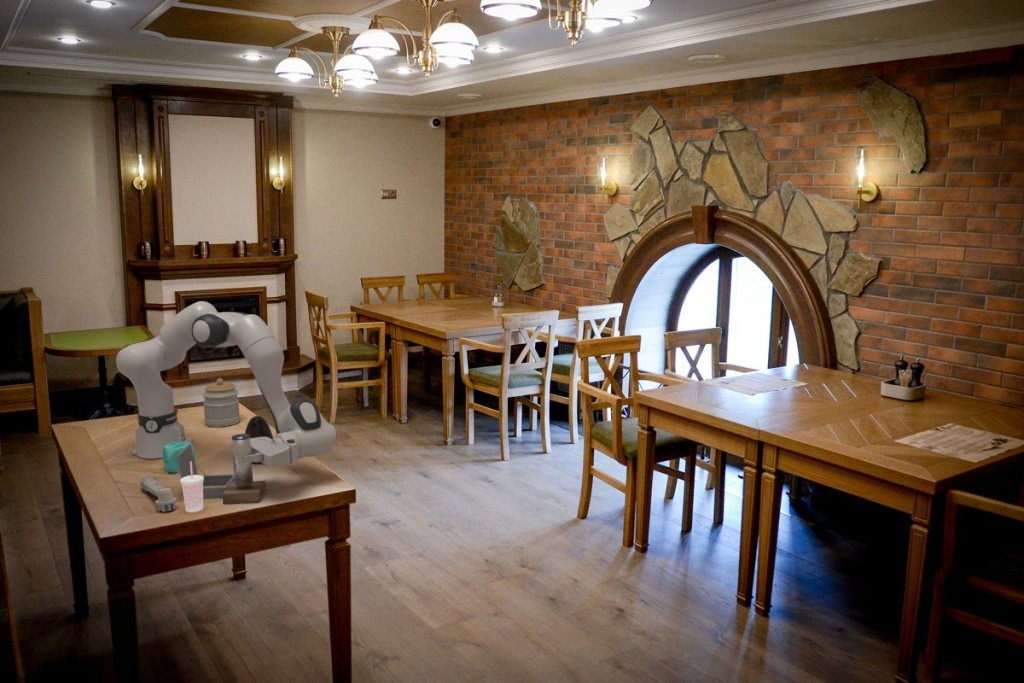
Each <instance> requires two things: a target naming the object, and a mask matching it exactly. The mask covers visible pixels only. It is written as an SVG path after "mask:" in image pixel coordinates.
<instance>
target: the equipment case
mask: <svg viewBox="0 0 1024 683" xmlns="http://www.w3.org/2000/svg"><path fill="white" fill-rule="evenodd" d="M176 457H177V461H178V466H179V471H178V473H177V474H179V476H180V477H181V478H180V479H182V478H183V477H186V476H190V475H191V470H190V461H192V472H193V475H199V474H198V470H197V466H196V460H195V461H194V456H193V452H192V448H191V444H189V445H188V446H187V447H186V448H185V449H183V450H182V451H181V452H180V453H179V454H178V455H177V456H176ZM202 476H203V477H204V481H203V499H221V498H222V494H223V492H224V491H225V490H226V488H227V487H228V486H229V484H230V483H231V482H235V477H234V474H212V475H211V474H209V475H207V474H205V475H204V474H203V475H202ZM210 486H211V487H210ZM215 486H216V487H215ZM222 499H223V498H222Z"/></svg>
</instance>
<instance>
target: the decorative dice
mask: <svg viewBox="0 0 1024 683" xmlns="http://www.w3.org/2000/svg"><path fill="white" fill-rule="evenodd" d="M189 444H191V443H189V442H174V443H170V444H167V445H166V446H165V447H164V448H163V458H162V461H163V466H164V468H165V471H166V472H168V473H170V472H171V473H170V474H179V473H178V471H179V466H178V461H177V457H176V456H177V455H178V454H179V453H180V452H181V451H182V450H183V449H185V448H186V447H187V446H188V445H189ZM191 448H192V452H193V456H194V461H195V462H196V455H195V454H196V453H195V450H194V446H193V444H191Z"/></svg>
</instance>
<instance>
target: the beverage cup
mask: <svg viewBox="0 0 1024 683" xmlns="http://www.w3.org/2000/svg"><path fill="white" fill-rule="evenodd" d="M190 470H191V475H190V476H186V477H183V478H180V484H181V487H182V494H183V501H184V506H185V512H187V513H197V512H201V511H202V510H204V498H203V488H204V486H203V481H204V477H203V476H204V475H201V474H198V475H193V472H192V461H190Z"/></svg>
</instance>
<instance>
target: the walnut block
mask: <svg viewBox="0 0 1024 683" xmlns="http://www.w3.org/2000/svg"><path fill="white" fill-rule="evenodd" d="M265 491H266V492H267V482H266V480H255V481H254V480H253V483H252V484H249V485H245V486H238V485H235V482H231V483H230V484H229V486H228V487H227V488H226V490H225V491H224V492H223V494H222V505H235V504H237V505H238V504H239V505H240V503H243V504H259V503H260V502H261V500H262V499H261V498H263V497H264V495H265V494H266V492H265ZM264 493H265V494H264ZM263 494H264V495H263ZM262 496H263V497H262ZM259 501H260V502H259ZM258 502H259V503H258Z"/></svg>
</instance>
